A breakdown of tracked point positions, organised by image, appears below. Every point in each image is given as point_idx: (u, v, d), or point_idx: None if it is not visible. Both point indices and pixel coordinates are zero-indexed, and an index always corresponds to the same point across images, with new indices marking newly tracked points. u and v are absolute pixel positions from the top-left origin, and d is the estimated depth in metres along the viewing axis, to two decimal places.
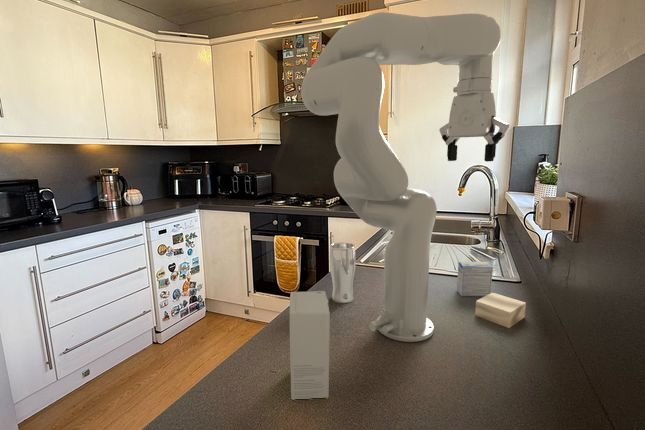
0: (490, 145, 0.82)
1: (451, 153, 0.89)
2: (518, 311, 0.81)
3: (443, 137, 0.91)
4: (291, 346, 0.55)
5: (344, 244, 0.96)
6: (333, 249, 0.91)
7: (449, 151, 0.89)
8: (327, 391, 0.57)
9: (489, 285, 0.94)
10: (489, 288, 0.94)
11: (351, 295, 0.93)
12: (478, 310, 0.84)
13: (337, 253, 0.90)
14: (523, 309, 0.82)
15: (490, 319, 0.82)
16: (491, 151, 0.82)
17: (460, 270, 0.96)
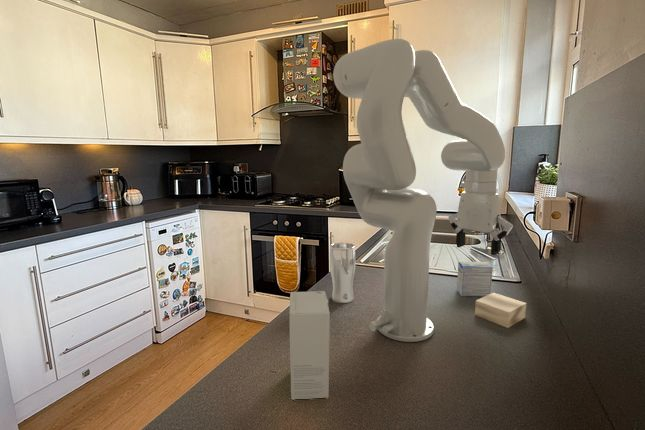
0: (496, 241, 0.90)
1: (460, 241, 0.98)
2: (518, 311, 0.81)
3: (452, 225, 0.99)
4: (291, 346, 0.55)
5: (344, 244, 0.96)
6: (333, 249, 0.91)
7: (458, 239, 0.98)
8: (327, 391, 0.57)
9: (489, 285, 0.94)
10: (489, 288, 0.94)
11: (351, 295, 0.93)
12: (478, 310, 0.84)
13: (337, 253, 0.90)
14: (523, 309, 0.82)
15: (490, 318, 0.82)
16: (497, 246, 0.90)
17: (460, 270, 0.96)
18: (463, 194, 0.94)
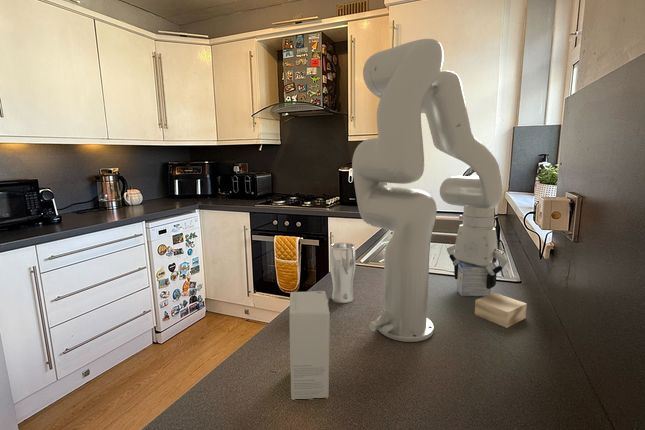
0: (491, 275, 0.92)
1: None
2: (518, 311, 0.80)
3: (450, 257, 1.00)
4: (291, 346, 0.55)
5: (344, 244, 0.96)
6: (333, 249, 0.91)
7: (456, 271, 0.99)
8: (327, 391, 0.57)
9: None
10: None
11: (351, 295, 0.93)
12: (477, 309, 0.84)
13: (337, 253, 0.90)
14: (523, 310, 0.82)
15: (489, 318, 0.82)
16: (492, 281, 0.92)
17: (460, 270, 0.96)
18: (461, 227, 0.95)
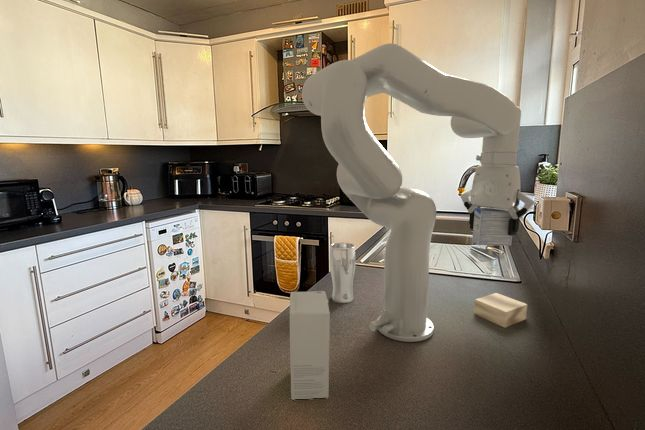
0: (514, 220, 0.81)
1: None
2: (517, 311, 0.80)
3: (465, 204, 0.89)
4: (291, 346, 0.55)
5: (344, 244, 0.96)
6: (333, 249, 0.91)
7: (472, 219, 0.88)
8: (327, 391, 0.57)
9: None
10: (510, 236, 0.84)
11: (351, 295, 0.93)
12: (477, 308, 0.85)
13: (337, 253, 0.90)
14: (524, 310, 0.82)
15: (488, 318, 0.82)
16: (515, 226, 0.81)
17: (477, 216, 0.85)
18: (479, 167, 0.84)
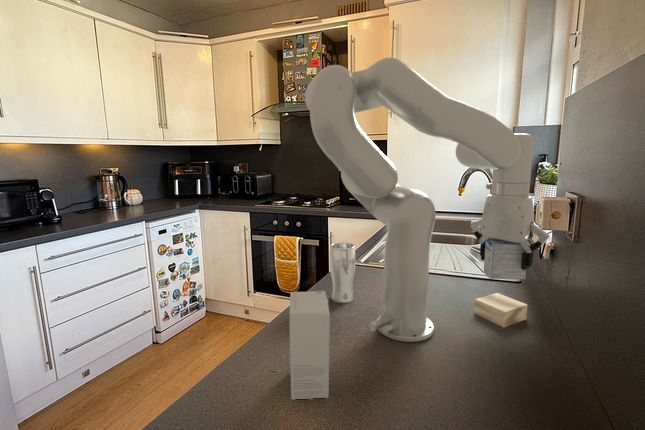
0: (527, 253, 0.77)
1: None
2: (517, 311, 0.80)
3: (475, 234, 0.85)
4: (291, 346, 0.55)
5: (344, 244, 0.96)
6: (333, 249, 0.91)
7: (483, 251, 0.84)
8: (327, 391, 0.57)
9: None
10: None
11: (351, 295, 0.93)
12: (477, 308, 0.85)
13: (337, 253, 0.90)
14: (524, 311, 0.81)
15: (487, 317, 0.82)
16: (528, 260, 0.77)
17: (488, 248, 0.81)
18: (489, 197, 0.80)
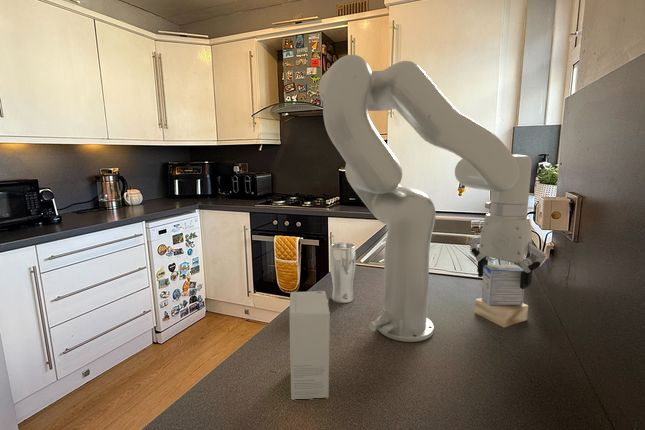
0: (526, 273, 0.77)
1: (482, 270, 0.85)
2: (517, 312, 0.80)
3: (473, 251, 0.86)
4: (291, 346, 0.55)
5: (344, 244, 0.96)
6: (333, 249, 0.91)
7: (480, 268, 0.85)
8: (327, 391, 0.57)
9: (521, 292, 0.80)
10: (521, 295, 0.81)
11: (351, 295, 0.93)
12: (477, 308, 0.85)
13: (337, 253, 0.90)
14: (524, 311, 0.81)
15: (488, 318, 0.82)
16: (527, 279, 0.77)
17: (487, 275, 0.82)
18: (487, 217, 0.81)
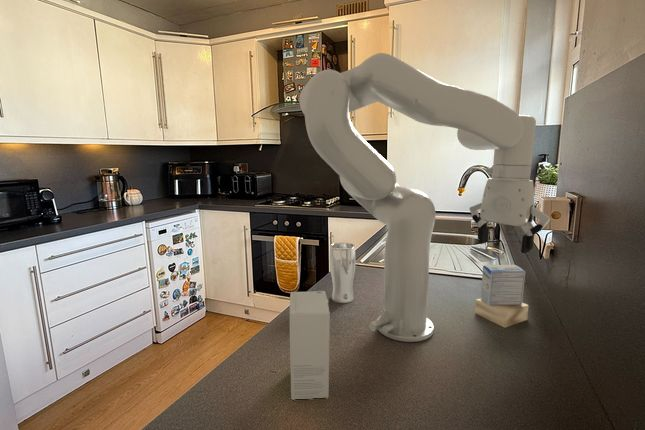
0: (528, 236, 0.76)
1: (482, 236, 0.83)
2: (518, 312, 0.80)
3: (474, 217, 0.85)
4: (291, 346, 0.55)
5: (344, 244, 0.96)
6: (333, 249, 0.91)
7: (480, 234, 0.83)
8: (327, 391, 0.57)
9: (521, 292, 0.81)
10: (521, 295, 0.81)
11: (351, 295, 0.93)
12: (478, 309, 0.85)
13: (337, 253, 0.90)
14: (525, 311, 0.81)
15: (488, 318, 0.82)
16: (529, 243, 0.76)
17: (487, 275, 0.82)
18: (490, 180, 0.79)
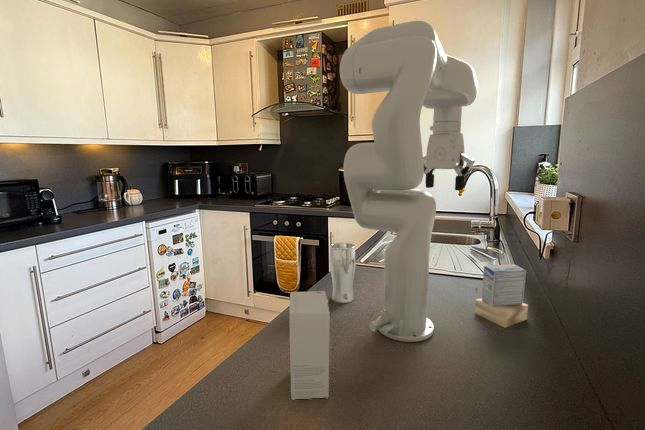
0: (459, 177, 0.97)
1: (428, 181, 1.05)
2: (518, 312, 0.80)
3: None
4: (291, 346, 0.55)
5: (344, 244, 0.96)
6: (333, 249, 0.91)
7: (427, 179, 1.05)
8: (327, 391, 0.57)
9: (522, 291, 0.81)
10: (522, 295, 0.81)
11: (351, 295, 0.93)
12: (477, 309, 0.85)
13: (337, 253, 0.90)
14: (524, 311, 0.81)
15: (488, 318, 0.82)
16: (460, 182, 0.97)
17: (489, 276, 0.81)
18: (431, 135, 1.01)
